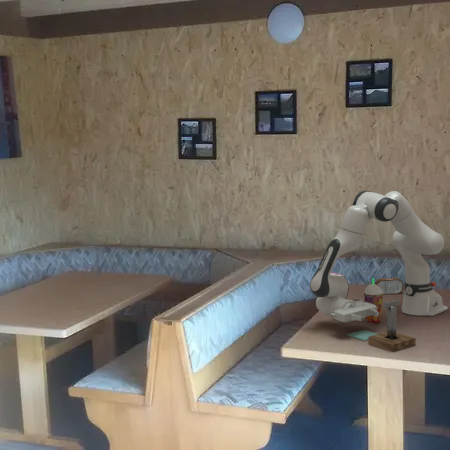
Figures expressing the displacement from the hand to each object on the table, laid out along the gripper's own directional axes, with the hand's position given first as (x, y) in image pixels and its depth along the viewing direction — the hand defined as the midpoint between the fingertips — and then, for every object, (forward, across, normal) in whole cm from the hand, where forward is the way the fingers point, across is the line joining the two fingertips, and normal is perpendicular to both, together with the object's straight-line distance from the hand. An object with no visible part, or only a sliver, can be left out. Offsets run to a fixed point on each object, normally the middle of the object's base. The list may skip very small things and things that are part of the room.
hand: (369, 316), depth 274 cm
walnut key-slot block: (+12, 0, +9) cm, 15 cm away
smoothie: (-15, +18, +9) cm, 25 cm away
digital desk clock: (-45, +61, +9) cm, 76 cm away
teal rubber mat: (-3, 0, +9) cm, 10 cm away
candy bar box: (-45, +23, +9) cm, 51 cm away
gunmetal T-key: (+12, 0, +9) cm, 15 cm away
